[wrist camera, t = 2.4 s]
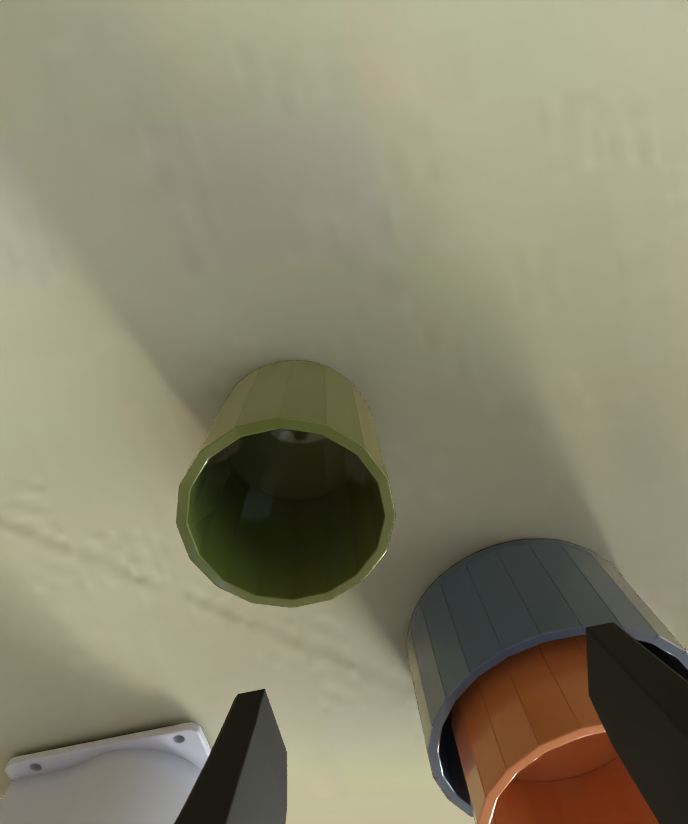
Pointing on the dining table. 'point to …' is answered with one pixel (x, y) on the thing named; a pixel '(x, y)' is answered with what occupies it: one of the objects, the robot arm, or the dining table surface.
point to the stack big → (513, 628)
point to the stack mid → (541, 744)
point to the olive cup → (288, 489)
